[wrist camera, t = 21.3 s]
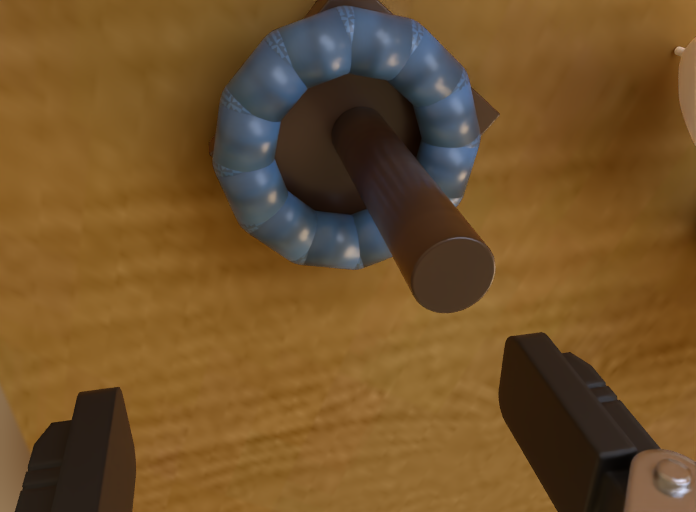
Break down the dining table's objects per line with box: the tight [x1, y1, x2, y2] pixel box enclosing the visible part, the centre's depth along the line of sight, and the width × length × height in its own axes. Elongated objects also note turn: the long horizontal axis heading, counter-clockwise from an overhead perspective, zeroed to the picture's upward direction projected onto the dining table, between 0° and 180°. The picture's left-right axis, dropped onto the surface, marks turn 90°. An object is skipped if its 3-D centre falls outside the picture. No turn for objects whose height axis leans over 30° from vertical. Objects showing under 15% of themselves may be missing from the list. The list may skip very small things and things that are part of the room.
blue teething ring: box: [213, 6, 481, 270], centre depth 27 cm, size 11×11×2 cm
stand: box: [209, 0, 500, 313], centre depth 24 cm, size 9×9×14 cm
